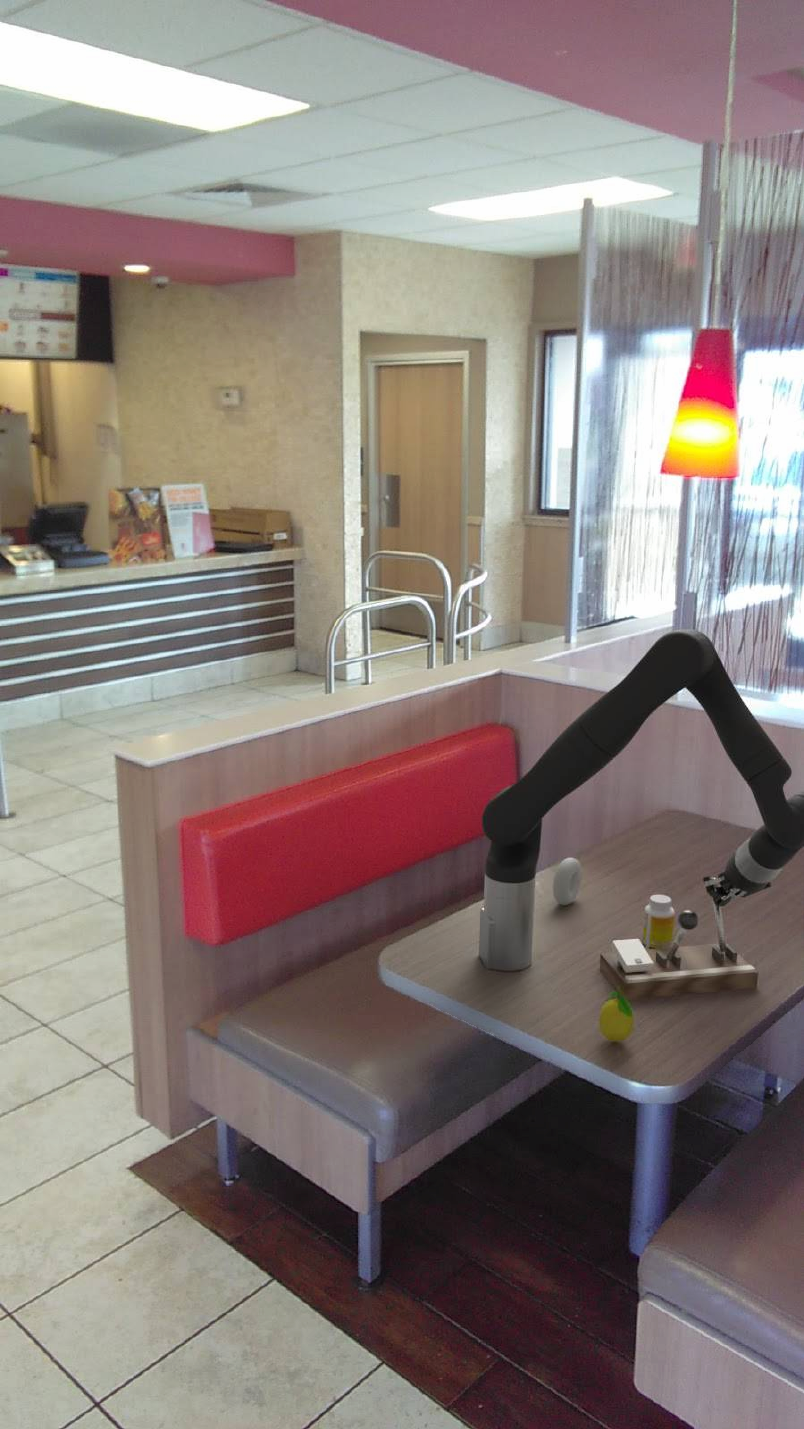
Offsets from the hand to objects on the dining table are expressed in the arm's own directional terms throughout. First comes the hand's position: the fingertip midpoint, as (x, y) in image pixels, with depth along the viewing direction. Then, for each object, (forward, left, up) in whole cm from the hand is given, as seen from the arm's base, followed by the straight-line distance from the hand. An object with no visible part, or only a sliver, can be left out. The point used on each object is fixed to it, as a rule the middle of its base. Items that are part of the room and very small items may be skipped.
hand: (718, 901), depth 206 cm
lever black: (-11, -4, -9) cm, 15 cm away
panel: (-9, -4, -13) cm, 16 cm away
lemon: (-28, -23, -13) cm, 39 cm away
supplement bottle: (-7, +8, -13) cm, 17 cm away
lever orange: (0, -4, -9) cm, 10 cm away
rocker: (-18, -4, -7) cm, 20 cm away
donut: (-18, +31, -13) cm, 38 cm away
